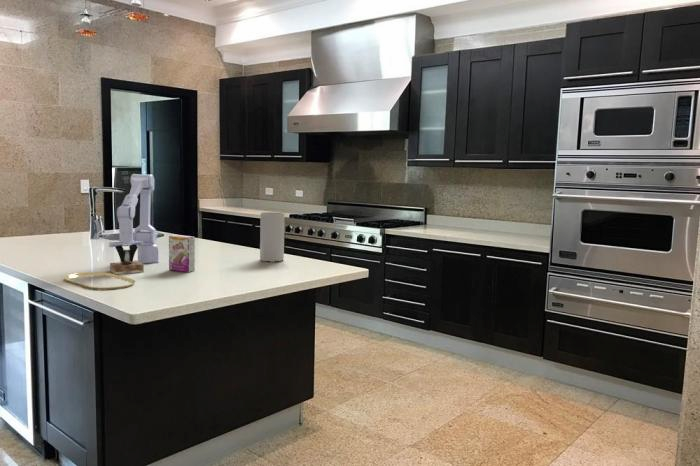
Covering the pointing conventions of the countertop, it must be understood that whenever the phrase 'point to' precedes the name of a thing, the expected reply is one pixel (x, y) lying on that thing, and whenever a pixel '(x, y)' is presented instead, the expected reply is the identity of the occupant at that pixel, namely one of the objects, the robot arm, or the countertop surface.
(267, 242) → the cylinder vase
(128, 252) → the pin
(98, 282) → the countertop surface
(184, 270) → the candy bar box
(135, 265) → the socket block
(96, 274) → the yellow rubber band
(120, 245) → the robot arm
